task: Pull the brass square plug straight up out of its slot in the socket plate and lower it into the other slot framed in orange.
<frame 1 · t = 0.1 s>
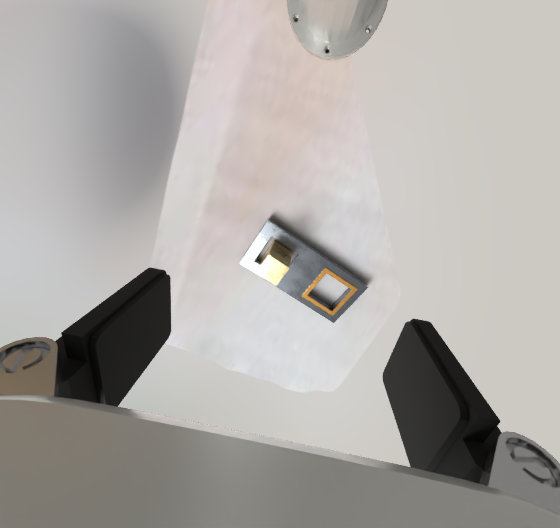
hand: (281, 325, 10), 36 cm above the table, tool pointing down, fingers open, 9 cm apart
socket plate: (303, 271, 50), on the table
brass plug: (277, 254, 49), resting in socket plate
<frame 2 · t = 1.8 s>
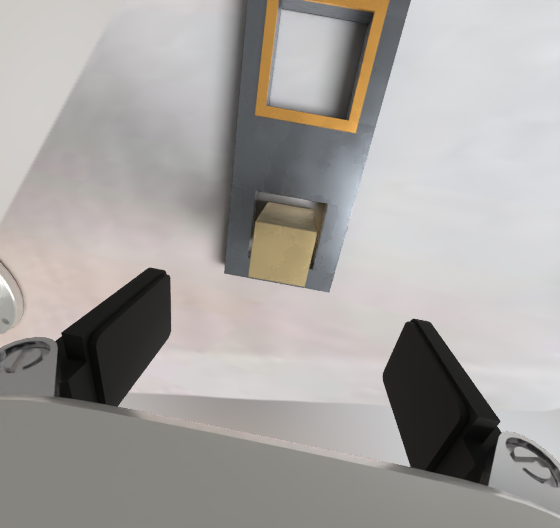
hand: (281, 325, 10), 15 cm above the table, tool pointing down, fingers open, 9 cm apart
socket plate: (299, 157, 21), on the table
brass plug: (286, 227, 24), resting in socket plate
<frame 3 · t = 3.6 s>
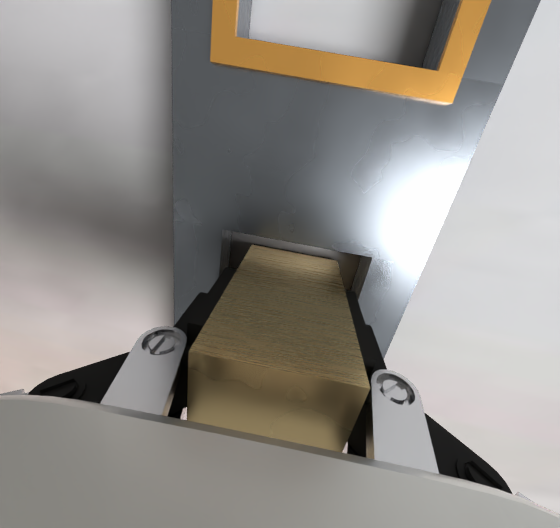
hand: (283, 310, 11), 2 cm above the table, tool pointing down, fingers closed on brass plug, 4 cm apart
socket plate: (312, 160, 10), on the table
brass plug: (286, 289, 13), resting in socket plate, touching gripper
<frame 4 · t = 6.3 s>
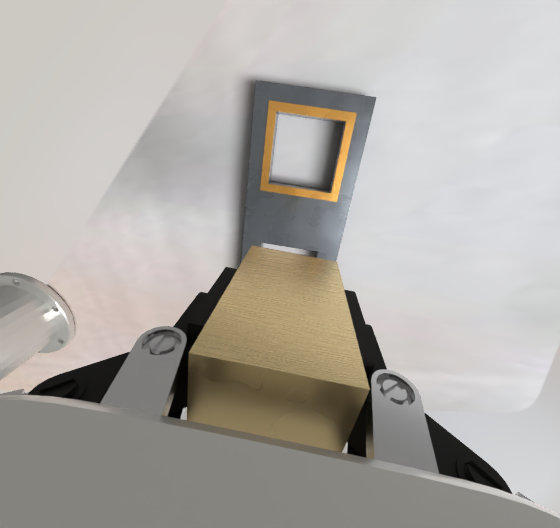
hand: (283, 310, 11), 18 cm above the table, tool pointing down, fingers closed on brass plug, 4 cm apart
socket plate: (295, 215, 27), on the table
brass plug: (286, 290, 13), point 16 cm above the table, touching gripper
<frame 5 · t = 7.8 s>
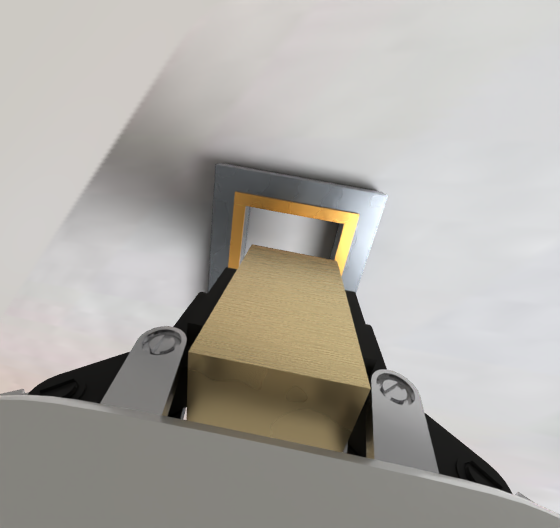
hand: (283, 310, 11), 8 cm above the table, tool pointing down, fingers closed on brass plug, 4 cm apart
socket plate: (274, 320, 21), on the table
brass plug: (286, 289, 13), point 6 cm above the table, touching gripper
when the fingers open (2 cm above the table, at t = 9.2 s): brass plug stays where it is, resting in socket plate.
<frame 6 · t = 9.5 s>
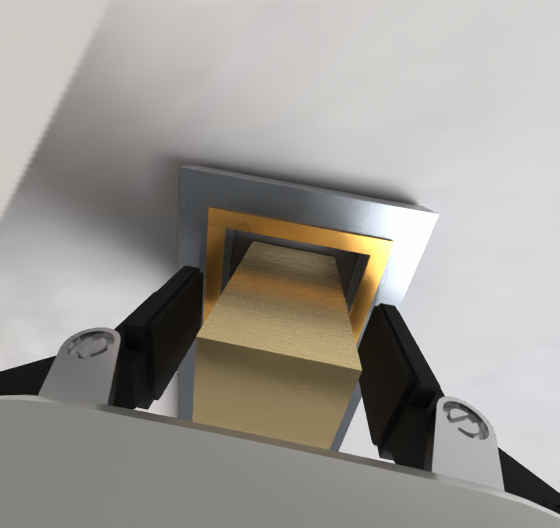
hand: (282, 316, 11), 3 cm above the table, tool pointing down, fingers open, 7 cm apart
socket plate: (270, 370, 16), on the table
brass plug: (286, 284, 13), resting in socket plate
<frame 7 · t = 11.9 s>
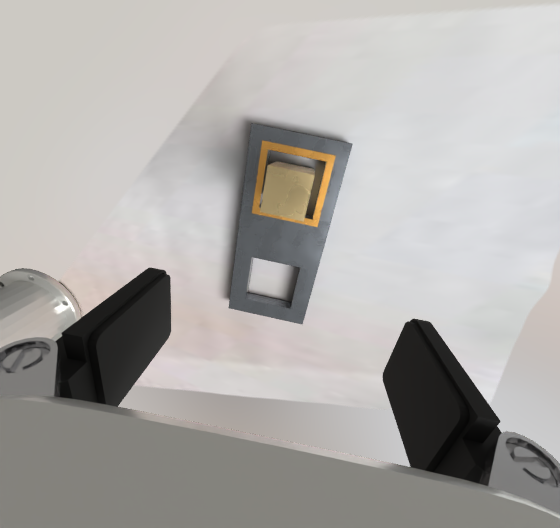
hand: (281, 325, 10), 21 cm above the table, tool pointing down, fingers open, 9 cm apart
socket plate: (282, 234, 31), on the table
brass plug: (291, 184, 29), resting in socket plate
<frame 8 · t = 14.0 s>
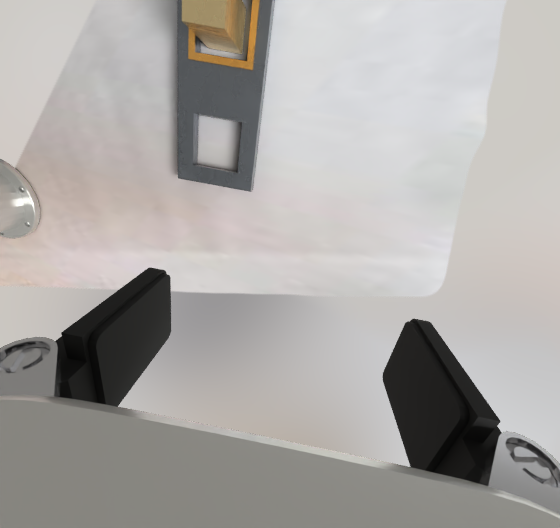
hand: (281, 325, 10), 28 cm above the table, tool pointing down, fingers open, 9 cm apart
socket plate: (223, 91, 32), on the table
brass plug: (226, 29, 29), resting in socket plate
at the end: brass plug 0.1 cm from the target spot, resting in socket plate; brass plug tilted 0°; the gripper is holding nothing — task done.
